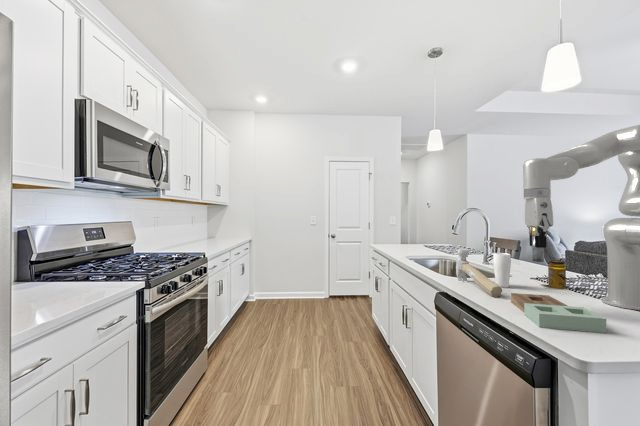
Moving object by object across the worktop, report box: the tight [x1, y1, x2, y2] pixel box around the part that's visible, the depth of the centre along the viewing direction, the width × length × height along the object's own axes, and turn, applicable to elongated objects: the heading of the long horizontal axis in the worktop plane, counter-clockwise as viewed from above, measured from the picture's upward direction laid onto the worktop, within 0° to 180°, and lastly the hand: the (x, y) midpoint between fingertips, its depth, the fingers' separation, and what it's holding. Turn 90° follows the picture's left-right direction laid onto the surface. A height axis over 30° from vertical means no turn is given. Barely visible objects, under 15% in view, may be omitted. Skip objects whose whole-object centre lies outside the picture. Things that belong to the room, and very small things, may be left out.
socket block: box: [510, 292, 568, 313], centre depth 98 cm, size 12×12×4 cm
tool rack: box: [523, 303, 607, 334], centre depth 85 cm, size 16×10×4 cm, turn 74°
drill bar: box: [531, 227, 545, 263], centre depth 98 cm, size 3×3×12 cm
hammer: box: [455, 247, 503, 298], centre depth 126 cm, size 16×5×30 cm
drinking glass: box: [492, 252, 512, 289], centre depth 128 cm, size 7×7×15 cm
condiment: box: [540, 259, 570, 291], centre depth 126 cm, size 7×8×12 cm
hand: (537, 246), depth 98 cm, fingers closed on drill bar, 3 cm apart
